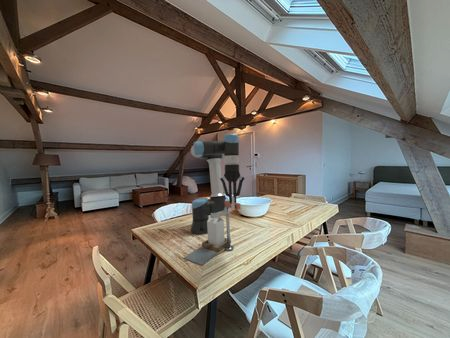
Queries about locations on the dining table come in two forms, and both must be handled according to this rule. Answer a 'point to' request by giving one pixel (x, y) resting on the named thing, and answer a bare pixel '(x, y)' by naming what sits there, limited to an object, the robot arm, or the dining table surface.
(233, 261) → the dining table surface
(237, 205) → the signpost
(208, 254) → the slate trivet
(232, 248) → the base
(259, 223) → the dining table surface
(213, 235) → the milk carton
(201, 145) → the robot arm
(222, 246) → the frame
